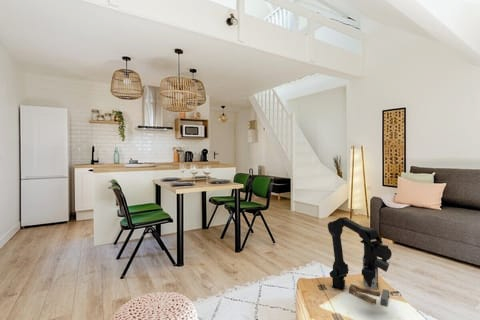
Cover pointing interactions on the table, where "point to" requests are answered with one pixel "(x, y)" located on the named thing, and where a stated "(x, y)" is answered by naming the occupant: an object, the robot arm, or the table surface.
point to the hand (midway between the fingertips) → (370, 283)
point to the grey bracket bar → (384, 297)
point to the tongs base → (364, 290)
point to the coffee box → (374, 281)
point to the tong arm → (363, 296)
